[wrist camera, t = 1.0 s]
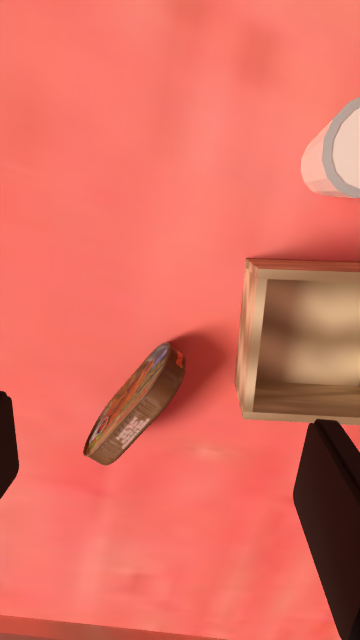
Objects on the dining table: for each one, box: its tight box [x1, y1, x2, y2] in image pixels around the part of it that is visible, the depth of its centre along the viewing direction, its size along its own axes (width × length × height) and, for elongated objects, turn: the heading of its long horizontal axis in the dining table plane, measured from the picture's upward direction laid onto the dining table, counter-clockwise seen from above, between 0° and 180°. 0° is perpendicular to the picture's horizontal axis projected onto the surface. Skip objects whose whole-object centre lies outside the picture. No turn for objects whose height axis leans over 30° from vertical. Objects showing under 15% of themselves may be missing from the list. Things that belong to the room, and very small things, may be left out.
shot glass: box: [301, 97, 360, 198], centre depth 26 cm, size 7×7×7 cm
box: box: [235, 258, 360, 425], centre depth 31 cm, size 14×14×7 cm
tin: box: [83, 342, 185, 465], centre depth 33 cm, size 15×3×8 cm, turn 141°
